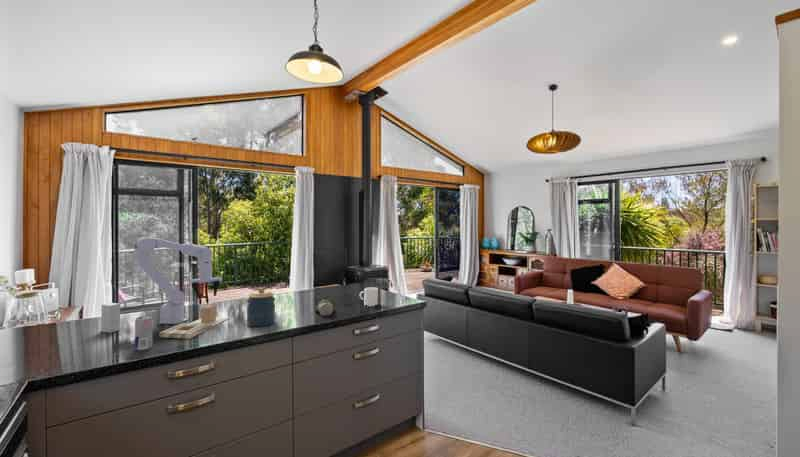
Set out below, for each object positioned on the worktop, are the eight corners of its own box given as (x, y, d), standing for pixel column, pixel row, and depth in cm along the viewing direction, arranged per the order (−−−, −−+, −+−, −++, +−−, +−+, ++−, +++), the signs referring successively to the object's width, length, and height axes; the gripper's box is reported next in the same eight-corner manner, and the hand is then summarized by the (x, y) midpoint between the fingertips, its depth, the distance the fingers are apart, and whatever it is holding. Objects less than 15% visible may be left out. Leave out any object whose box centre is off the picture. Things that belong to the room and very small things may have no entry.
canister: (241, 323, 165) (242, 287, 165) (267, 318, 175) (267, 284, 174) (253, 329, 156) (253, 291, 156) (280, 323, 166) (280, 287, 165)
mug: (356, 305, 204) (356, 288, 204) (373, 302, 211) (373, 286, 211) (362, 307, 198) (362, 291, 197) (380, 305, 205) (380, 289, 204)
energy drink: (141, 345, 134) (141, 315, 134) (155, 345, 135) (155, 315, 135) (131, 351, 129) (131, 319, 129) (146, 350, 130) (146, 319, 129)
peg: (201, 322, 164) (201, 307, 164) (207, 319, 169) (207, 305, 168) (210, 322, 164) (210, 308, 164) (215, 320, 168) (215, 305, 168)
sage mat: (187, 325, 161) (187, 324, 161) (205, 317, 174) (205, 316, 174) (213, 326, 160) (213, 325, 160) (229, 318, 173) (229, 317, 172)
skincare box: (120, 330, 153) (120, 303, 152) (110, 333, 148) (109, 305, 148) (111, 328, 155) (111, 302, 154) (100, 331, 150) (100, 304, 150)
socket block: (159, 337, 144) (159, 332, 144) (182, 327, 158) (182, 322, 158) (189, 338, 143) (189, 333, 143) (210, 328, 157) (210, 324, 157)
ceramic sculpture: (316, 300, 177) (313, 296, 191) (316, 317, 176) (313, 311, 190) (337, 299, 180) (332, 295, 194) (336, 316, 180) (332, 310, 194)
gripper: (187, 272, 169) (188, 299, 170) (219, 270, 173) (220, 296, 174) (191, 270, 176) (192, 296, 177) (222, 268, 180) (223, 293, 181)
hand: (206, 296), depth 176 cm, fingers open, 7 cm apart
